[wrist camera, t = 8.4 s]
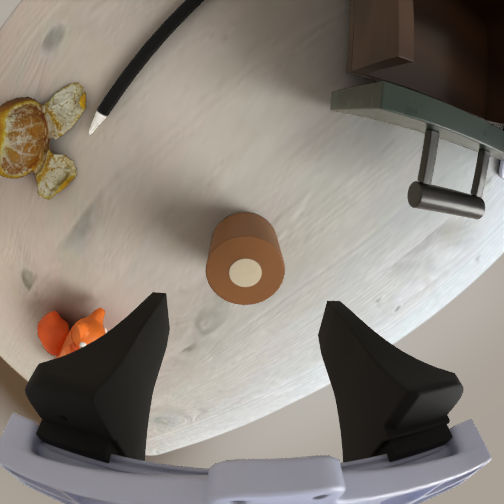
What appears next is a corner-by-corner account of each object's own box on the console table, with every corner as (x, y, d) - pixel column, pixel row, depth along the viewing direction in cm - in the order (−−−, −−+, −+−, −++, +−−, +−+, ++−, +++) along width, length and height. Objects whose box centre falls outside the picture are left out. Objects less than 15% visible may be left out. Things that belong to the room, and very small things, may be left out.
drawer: (472, 205, 18) (530, 240, 12) (321, 178, 17) (363, 214, 11) (487, 18, 11) (543, 11, 5) (338, -50, 10) (375, -100, 4)
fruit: (73, 200, 18) (46, 217, 15) (-1, 181, 17) (-30, 194, 13) (93, 84, 15) (64, 80, 11) (12, 81, 13) (-19, 81, 10)
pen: (287, -61, 10) (289, -68, 9) (96, 138, 16) (88, 139, 15) (276, -67, 10) (278, -74, 9) (87, 131, 16) (79, 132, 15)
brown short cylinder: (280, 214, 19) (290, 239, 16) (273, 273, 21) (279, 307, 17) (212, 210, 19) (206, 234, 15) (211, 270, 21) (205, 303, 17)
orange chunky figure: (64, 415, 21) (104, 365, 17) (16, 357, 21) (39, 285, 17) (92, 389, 26) (140, 333, 22) (47, 337, 25) (82, 267, 22)
